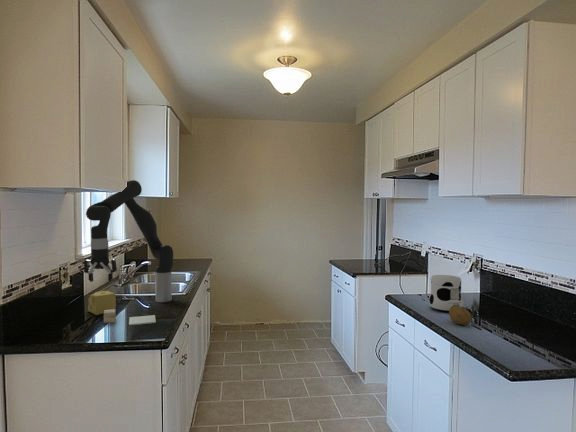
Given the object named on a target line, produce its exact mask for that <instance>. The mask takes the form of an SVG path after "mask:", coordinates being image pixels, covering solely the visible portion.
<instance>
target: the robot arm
mask: <svg viewBox="0 0 576 432" xmlns="http://www.w3.org/2000/svg"><path fill="white" fill-rule="evenodd" d="M126 182H127V187H126V188H125V189H124V190H123V191H122V192H118V191H117V192H115V193H114V194H111V195H109V196H108V197H106V198H105V199H103V200H102V201H99V202H96V203H94V204H92V205H90V206H88V208H87V209H86V212H85V217H86V218H87V219H88V220H89V221H94V222H95V221H97V222H98V221H99V222H98V224H97V225H93V226H92V227H91V228H90V238H91V239H90V255H91V258H90V259H85V260H84V262H83V273H84V274H88V281H89V282H91V283H92V282H94V271H95V270H105V271H106V272H107V273H108V274H107V276H108V277H107V279H108V280H107V281H108V282H112V280H113V278H114V277H113V276H114V275H113V273H115V272H117V268H118V267H117V260H116V258H113V259H110V258H109V257H110V255H109V254H110V253H109V239H108V227H109V224H110V223H109V222H110V220H111V215H112V213H113V212H115V211H116V210H117V209H118V208H120V207H121V206H122V205H124V204H125V206H126V207H127V209H128V210H129V212H130V214H131V215H132V217H133V219H134V221H135V223H136V224H137V226H138V228H139V230H140V232H141V233H142V235H143V237H144V239H145V241H146V242H147V244H148V247H149V250H150V252H151V254H152V256H153V258H154V259H156V260H158V261H159V264H158V266H156V267H155V268H154V278H155V279H154V280H155V281H154V287H155V292H154V294H155V295H154V297H155V302H156V303H168V302H171V301H172V298H173V297H172V296H173V295H172V286H173V285H172V284H173V283H172V281H173V280H172V269H173V267H174V266H173V265H174V250H173V247H172V246H170V245H168V244H163V243H162V241H161V240H160V238H159V237H158V232H157V230H158V228H157V223H156V221H155V219H154V217H153V216H152V214H151V212H149V211H148V210H147V209H146V208H144V207H143V206H141V205H140V204H138V203H137V202H136V201H137V200H135V198H136V197H139V196H140V195H142V194H141V193H142V191H143V189H142V185H141V183H140V182H139V181H138V180H135V179H133V180H126ZM109 264H110V265H111V266H110V265H109ZM90 265H92V266H91V267H90Z"/></svg>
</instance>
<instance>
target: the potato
mask: <svg viewBox="0 0 576 432" xmlns="http://www.w3.org/2000/svg"><path fill="white" fill-rule="evenodd" d="M448 316H449V319H450V321H452V322H453V323H455V324H456V325H462V326H466V325H469V324H470V323H471V322H472V320H473V319H472V318H473V317H472V314H471V313H470V311H469V310H468V309H466V308H463V306H462V307H460V306H452V307H451V308H450V309H449V312H448Z"/></svg>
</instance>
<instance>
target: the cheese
mask: <svg viewBox="0 0 576 432" xmlns="http://www.w3.org/2000/svg"><path fill="white" fill-rule="evenodd" d="M87 301H88V306H87V311H88V312H89V313H92V314H93V315H95V316H98V315H104V310H113V309H116V308H117V307H116V306H117V302H116V301H117V299H116V294H115V293H114V292H111V291H109V290H101V291H95V292H94V293H93V294H90V296H89V297H88V300H87Z"/></svg>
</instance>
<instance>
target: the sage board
mask: <svg viewBox="0 0 576 432" xmlns="http://www.w3.org/2000/svg"><path fill="white" fill-rule="evenodd" d="M128 320H129V322H128V325H129V326H138V325H146V324H147V325H149V324H156V323H157V321H156V315H155V314H152V315H143V316H131V317H130V316H129V319H128Z"/></svg>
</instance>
